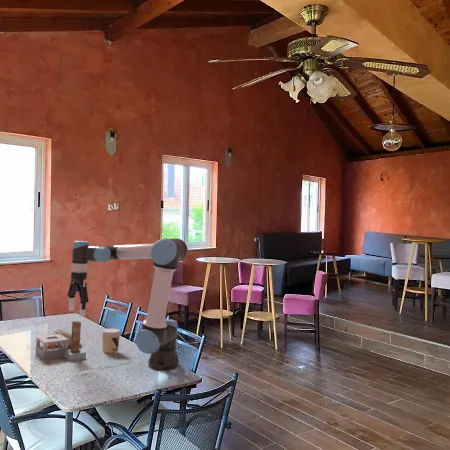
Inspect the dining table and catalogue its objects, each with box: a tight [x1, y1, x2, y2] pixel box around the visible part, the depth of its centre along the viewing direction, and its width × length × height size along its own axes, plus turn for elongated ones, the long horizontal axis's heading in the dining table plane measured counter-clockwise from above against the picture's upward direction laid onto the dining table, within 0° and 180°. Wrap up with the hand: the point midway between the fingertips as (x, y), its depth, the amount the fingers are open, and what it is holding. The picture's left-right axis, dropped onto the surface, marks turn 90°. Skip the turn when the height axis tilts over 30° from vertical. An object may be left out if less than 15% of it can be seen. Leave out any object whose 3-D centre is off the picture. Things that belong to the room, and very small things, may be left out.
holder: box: [63, 348, 87, 362], centre depth 218 cm, size 8×8×4 cm
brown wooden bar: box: [70, 320, 82, 353], centre depth 218 cm, size 3×3×18 cm
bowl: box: [53, 329, 81, 347], centre depth 238 cm, size 15×14×10 cm
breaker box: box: [35, 333, 69, 361], centre depth 220 cm, size 12×12×10 cm
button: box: [48, 343, 56, 349], centre depth 220 cm, size 4×4×5 cm
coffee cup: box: [102, 327, 121, 355], centre depth 232 cm, size 9×9×12 cm
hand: (76, 313), depth 218 cm, fingers open, 13 cm apart
